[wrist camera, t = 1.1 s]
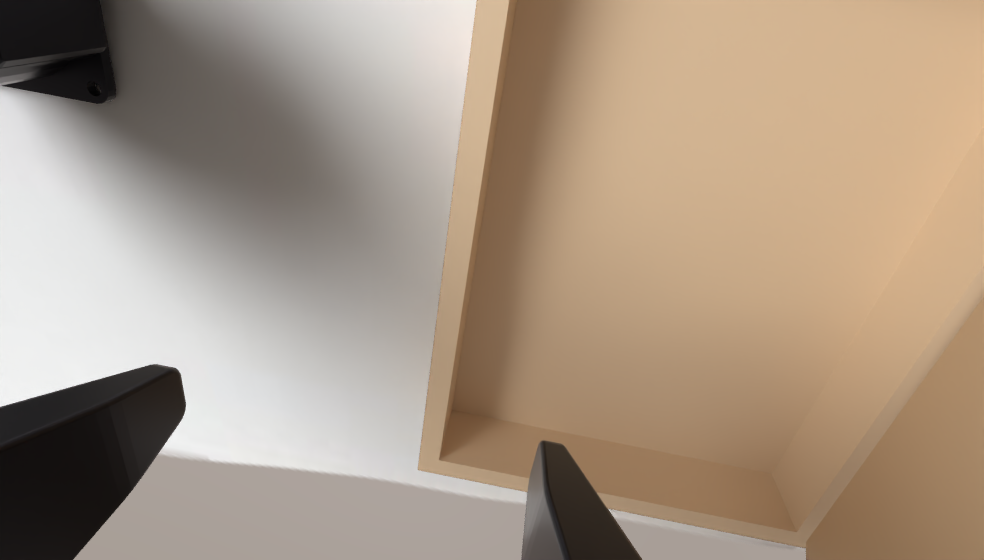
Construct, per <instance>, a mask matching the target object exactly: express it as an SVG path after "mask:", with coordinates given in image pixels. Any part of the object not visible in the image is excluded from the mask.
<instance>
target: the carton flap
mask: <svg viewBox="0 0 984 560" xmlns="http://www.w3.org/2000/svg"><path fill="white" fill-rule="evenodd" d="M806 560H984V297H983V299H982V300H981V301H980V303H979V304H978V305H977V307H976V308H975V310H974V311H973V312H972V314H971V315H970V316H969V318H968V319H967V321H966V322H965V323H964V325H963V326H962V328H961V329H960V330H959V332H958V333H957V334H956V336H955V337H954V339H953V340H952V341H951V343H950V344H949V345H948V347H947V348H946V350H945V351H944V352H943V354H942V355H941V356H940V358H939V359H938V361H937V362H936V363H935V365H934V366H933V368H932V369H931V370H930V372H929V373H928V374H927V376H926V377H925V379H924V380H923V381H922V383H921V384H920V385H919V387H918V388H917V390H916V391H915V392H914V394H913V395H912V397H911V398H910V399H909V401H908V402H907V403H906V405H905V406H904V408H903V409H902V410H901V412H900V413H899V414H898V416H897V417H896V419H895V420H894V421H893V423H892V424H891V425H890V427H889V428H888V430H887V431H886V432H885V434H884V435H883V437H882V438H881V439H880V441H879V442H878V443H877V445H876V446H875V448H874V449H873V450H872V452H871V453H870V454H869V456H868V457H867V459H866V460H865V461H864V463H863V464H862V466H861V467H860V468H859V470H858V471H857V472H856V474H855V475H854V477H853V478H852V479H851V481H850V482H849V483H848V485H847V486H846V488H845V489H844V490H843V492H842V493H841V494H840V496H839V497H838V499H837V500H836V501H835V503H834V504H833V506H832V507H831V508H830V510H829V511H828V512H827V514H826V515H825V517H824V518H823V519H822V521H821V522H820V523H819V525H818V526H817V528H816V529H815V530H814V532H813V533H812V534H811V536H810V537H809V539H808V540H807V541H806Z"/></svg>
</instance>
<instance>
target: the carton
mask: <svg viewBox="0 0 984 560" xmlns="http://www.w3.org/2000/svg"><path fill="white" fill-rule="evenodd" d="M983 297H984V0H477V2H476V10H475V18H474V26H473V34H472V42H471V50H470V58H469V66H468V74H467V82H466V90H465V98H464V106H463V114H462V122H461V130H460V138H459V146H458V154H457V161H456V169H455V177H454V185H453V193H452V201H451V209H450V217H449V225H448V233H447V241H446V249H445V257H444V265H443V273H442V281H441V289H440V297H439V305H438V313H437V320H436V328H435V336H434V344H433V352H432V360H431V368H430V376H429V384H428V392H427V400H426V408H425V416H424V424H423V432H422V440H421V448H420V456H419V464H418V470H421V471H425V472H430V473H435V474H440V475H445V476H450V477H455V478H460V479H465V480H470V481H475V482H480V483H485V484H490V485H495V486H500V487H505V488H510V489H515V490H520V491H525V492H528V484H529V478H530V473H531V469H532V466H533V462H534V459H535V455H536V451H537V448H538V444H539V443H540V441H542V440H546V441H551V442H556V443H561V444H563V445H564V446H565V447H566V448H567V450H568V451H569V453H570V454H571V456H572V457H573V458H574V460H575V461H576V463H577V464H578V466H579V467H580V469H581V470H582V472H583V473H584V475H585V476H586V478H587V479H588V481H589V482H590V483H591V485H592V486H593V488H594V489H595V491H596V492H597V494H598V495H599V497H600V498H601V500H602V501H603V503H604V504H605V506H606V507H607V508H609V509H614V510H619V511H624V512H628V513H633V514H638V515H643V516H648V517H653V518H658V519H663V520H668V521H673V522H678V523H683V524H688V525H693V526H698V527H703V528H708V529H713V530H718V531H723V532H728V533H732V534H737V535H742V536H747V537H752V538H757V539H762V540H767V541H772V542H777V543H782V544H787V545H792V546H797V547H802V548H806V541H807V540H808V539H809V537H810V536H811V534H812V533H813V532H814V530H815V529H816V528H817V526H818V525H819V523H820V522H821V521H822V519H823V518H824V517H825V515H826V514H827V512H828V511H829V510H830V508H831V507H832V506H833V504H834V503H835V501H836V500H837V499H838V497H839V496H840V494H841V493H842V492H843V490H844V489H845V488H846V486H847V485H848V483H849V482H850V481H851V479H852V478H853V477H854V475H855V474H856V472H857V471H858V470H859V468H860V467H861V466H862V464H863V463H864V461H865V460H866V459H867V457H868V456H869V454H870V453H871V452H872V450H873V449H874V448H875V446H876V445H877V443H878V442H879V441H880V439H881V438H882V437H883V435H884V434H885V432H886V431H887V430H888V428H889V427H890V425H891V424H892V423H893V421H894V420H895V419H896V417H897V416H898V414H899V413H900V412H901V410H902V409H903V408H904V406H905V405H906V403H907V402H908V401H909V399H910V398H911V397H912V395H913V394H914V392H915V391H916V390H917V388H918V387H919V385H920V384H921V383H922V381H923V380H924V379H925V377H926V376H927V374H928V373H929V372H930V370H931V369H932V368H933V366H934V365H935V363H936V362H937V361H938V359H939V358H940V356H941V355H942V354H943V352H944V351H945V350H946V348H947V347H948V345H949V344H950V343H951V341H952V340H953V339H954V337H955V336H956V334H957V333H958V332H959V330H960V329H961V328H962V326H963V325H964V323H965V322H966V321H967V319H968V318H969V316H970V315H971V314H972V312H973V311H974V310H975V308H976V307H977V305H978V304H979V303H980V301H981V300H982V299H983Z"/></svg>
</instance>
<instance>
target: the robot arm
mask: <svg viewBox="0 0 984 560" xmlns="http://www.w3.org/2000/svg"><path fill="white" fill-rule="evenodd" d="M96 83H97V84H98V85H99V86H100V89H101V93H100V92H99V91H98V90H97V88H96V86H95V84H96ZM1 85H2V86H7V87H12V88H18V89H23V90H28V91H33V92H39V93H44V94H49V95H55V96H60V97H65V98H70V99H76V100H81V101H86V102H92V103H97V104H98V103H105V102H109V101H111V100H113V99H114V98H115V96H116V86H115V81H114V75H113V70H112V65H111V59H110V54H109V49H108V43H107V38H106V33H105V27H104V22H103V17H102V11H101V6H100V1H99V0H0V86H1ZM185 408H186V401H185V396H184V390H183V385H182V379H181V374H180V372H179V371H178V369H176V368H173V367H168V366H163V365H158V364H153V365H148V366H145V367H141V368H137V369H134V370H130V371H127V372H123V373H120V374H116V375H113V376H109V377H105V378H102V379H98V380H95V381H91V382H88V383H84V384H80V385H77V386H73V387H70V388H66V389H63V390H59V391H55V392H52V393H48V394H45V395H41V396H38V397H34V398H30V399H27V400H23V401H20V402H16V403H13V404H9V405H6V406H2V407H0V560H73V559H74V558H75V557H76V556H77V554H78V553H79V552H80V551H81V549H83V547H84V546H85V545H86V544H87V543H88V542H89V540H90V539H91V538H92V537H93V536H94V535H95V533H96V532H97V531H98V530H99V529H100V528H101V526H102V525H103V524H104V523H105V522H106V521H107V520H108V518H109V517H110V516H111V515H112V514H113V513H114V511H115V510H116V509H117V508H118V507H119V505H120V504H121V503H122V502H123V501H124V500H125V498H126V497H127V496H128V495H129V493H130V492H131V491H132V490H133V488H134V487H135V486H136V484H137V483H138V481H139V480H140V479H141V478H142V476H143V475H144V473H145V472H146V470H147V469H148V467H149V466H150V465H151V463H152V462H153V460H154V459H155V458H156V456H157V455H158V453H159V452H160V450H161V449H162V447H163V446H164V445H165V443H166V442H167V440H168V439H169V437H170V436H171V435H172V433H173V432H174V430H175V429H176V427H177V426H178V425H179V423H180V422H181V420H182V418H183V416H184V413H185ZM521 560H642V558H641V557H640V556H639V554H638V553H637V551H636V550H635V548H634V547H633V546H632V544H631V542H630V541H629V539H628V538H627V536H626V535H625V533H624V532H623V530H622V529H621V528H620V526H619V525H618V523H617V522H616V520H615V519H614V517H613V516H612V514H611V513H610V511H609V510H608V508H607V507H606V506H605V504H604V503H603V501H602V500H601V498H600V497H599V495H598V494H597V492H596V491H595V489H594V488H593V486H592V485H591V483H590V482H589V481H588V479H587V478H586V476H585V475H584V473H583V472H582V470H581V469H580V467H579V466H578V464H577V463H576V461H575V460H574V458H573V457H572V456H571V454H570V453H569V451H568V450H567V448H566V447H565V446H564V445H563V444H561V443H556V442H551V441H546V440H542V441H540V443H539V444H538V448H537V451H536V455H535V459H534V462H533V466H532V469H531V473H530V478H529V484H528V492H527V503H526V514H525V525H524V536H523V546H522V559H521Z"/></svg>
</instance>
